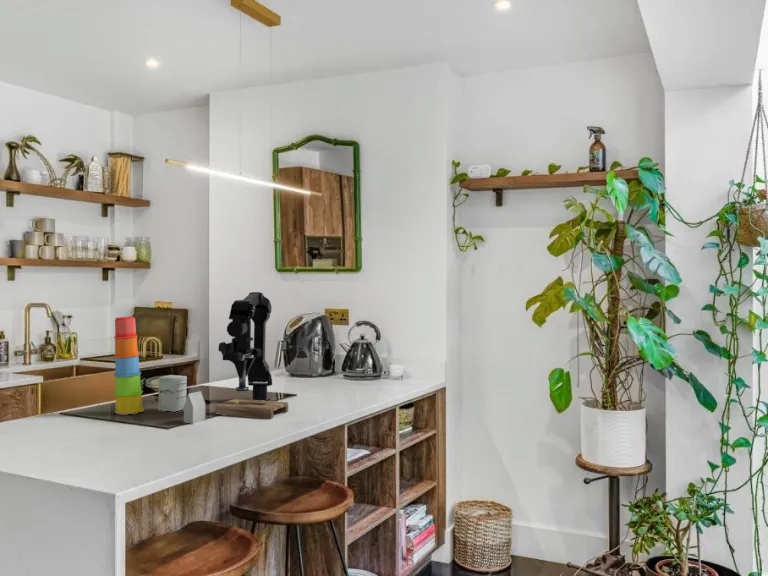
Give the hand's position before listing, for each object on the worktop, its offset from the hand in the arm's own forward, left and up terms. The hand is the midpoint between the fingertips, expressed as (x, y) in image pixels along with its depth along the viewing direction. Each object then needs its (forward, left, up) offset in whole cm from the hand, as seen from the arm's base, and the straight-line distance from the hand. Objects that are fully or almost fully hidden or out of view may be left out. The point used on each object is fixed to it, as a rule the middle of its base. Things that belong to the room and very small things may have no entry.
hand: (242, 377), depth 249 cm
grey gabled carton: (+20, -7, -13) cm, 25 cm away
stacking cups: (+14, -38, -13) cm, 42 cm away
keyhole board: (0, +4, -13) cm, 13 cm away
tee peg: (0, 0, -4) cm, 5 cm away
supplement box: (+5, -26, -13) cm, 29 cm away
